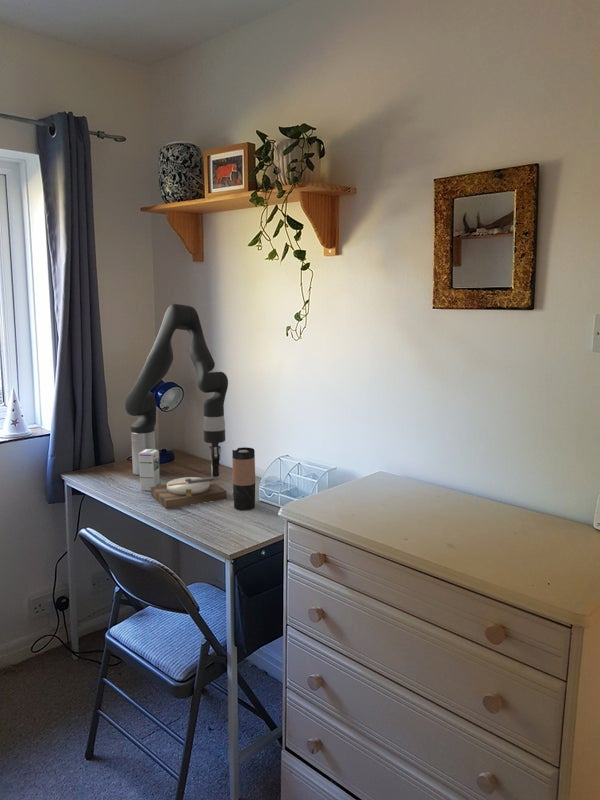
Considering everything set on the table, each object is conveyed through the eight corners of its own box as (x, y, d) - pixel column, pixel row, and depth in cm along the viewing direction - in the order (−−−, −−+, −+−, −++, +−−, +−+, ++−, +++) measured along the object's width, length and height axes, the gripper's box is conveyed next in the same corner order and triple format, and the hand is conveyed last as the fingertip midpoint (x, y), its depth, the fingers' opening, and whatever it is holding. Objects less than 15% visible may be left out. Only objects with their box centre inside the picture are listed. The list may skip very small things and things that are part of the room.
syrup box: (154, 491, 236) (153, 453, 234) (139, 490, 238) (138, 452, 235) (161, 486, 242) (159, 449, 240) (146, 485, 243) (144, 448, 241)
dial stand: (151, 494, 232) (150, 480, 231) (208, 486, 242) (208, 472, 241) (166, 509, 216) (165, 493, 215) (226, 499, 227) (226, 484, 226)
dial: (211, 479, 240) (211, 458, 239) (225, 489, 227) (224, 468, 226) (162, 485, 232) (161, 464, 231) (173, 497, 219) (172, 474, 218)
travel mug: (256, 510, 215) (255, 452, 212) (233, 511, 214) (232, 453, 211) (254, 502, 222) (253, 446, 219) (232, 504, 221) (231, 447, 218)
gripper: (226, 431, 220) (227, 480, 223) (223, 424, 233) (225, 471, 236) (204, 432, 219) (205, 481, 221) (203, 425, 232) (204, 472, 234)
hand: (215, 476), depth 229 cm, fingers closed
